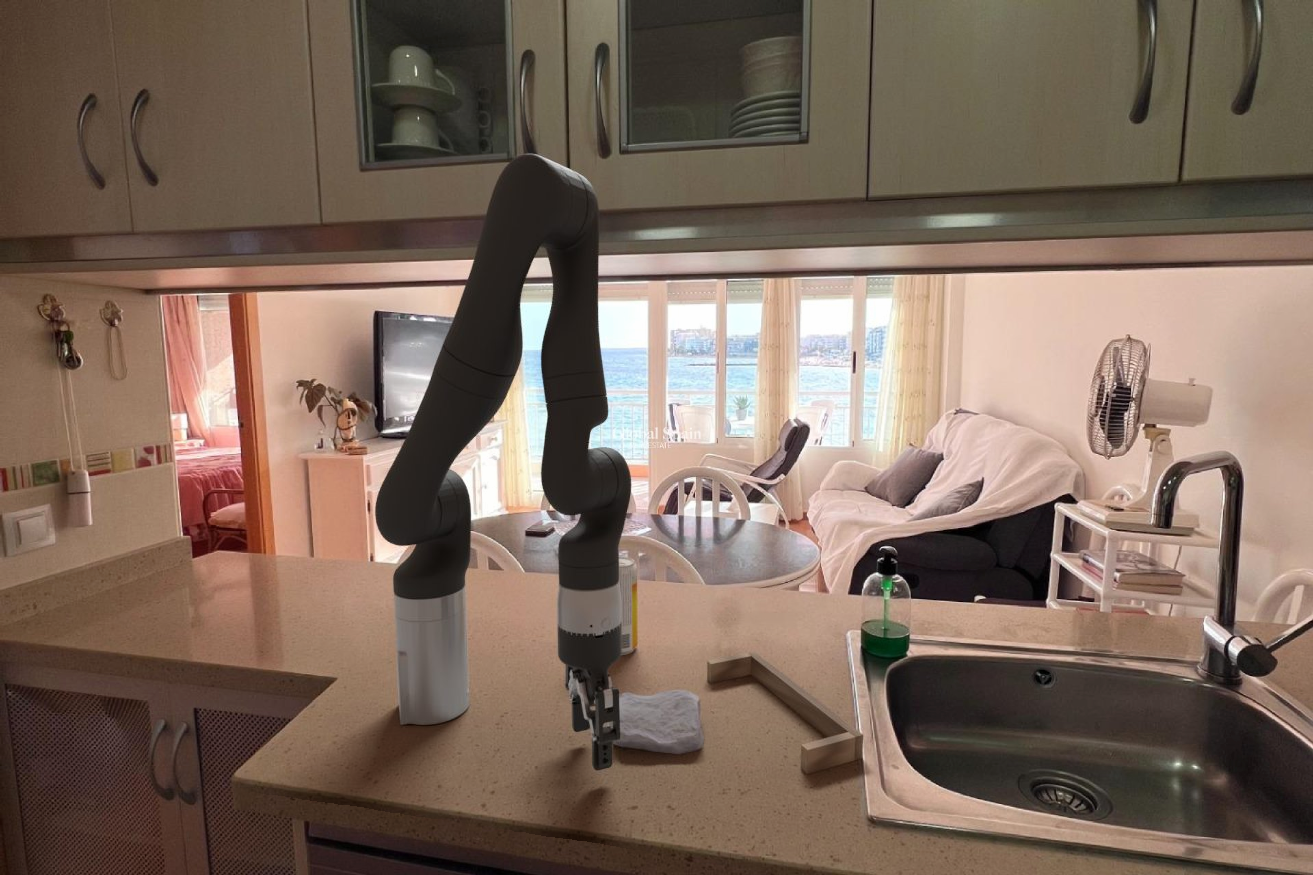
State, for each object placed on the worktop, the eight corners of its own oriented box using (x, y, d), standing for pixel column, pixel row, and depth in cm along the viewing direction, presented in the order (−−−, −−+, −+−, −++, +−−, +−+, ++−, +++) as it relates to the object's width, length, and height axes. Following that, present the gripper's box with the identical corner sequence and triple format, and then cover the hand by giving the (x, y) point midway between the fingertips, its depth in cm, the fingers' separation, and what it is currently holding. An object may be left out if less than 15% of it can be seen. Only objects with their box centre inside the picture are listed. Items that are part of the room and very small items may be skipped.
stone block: (707, 767, 83) (699, 710, 92) (707, 735, 81) (699, 681, 91) (611, 772, 83) (612, 715, 92) (609, 741, 81) (611, 686, 90)
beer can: (627, 638, 116) (627, 554, 114) (643, 652, 111) (643, 563, 109) (595, 645, 113) (594, 559, 112) (610, 659, 108) (609, 569, 106)
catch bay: (806, 774, 78) (807, 749, 78) (707, 679, 101) (707, 660, 101) (862, 757, 81) (863, 734, 81) (753, 669, 104) (753, 651, 104)
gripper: (544, 602, 84) (546, 724, 86) (575, 647, 71) (577, 790, 73) (601, 594, 87) (602, 712, 89) (641, 635, 74) (642, 773, 76)
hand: (591, 747), depth 81 cm, fingers open, 8 cm apart
